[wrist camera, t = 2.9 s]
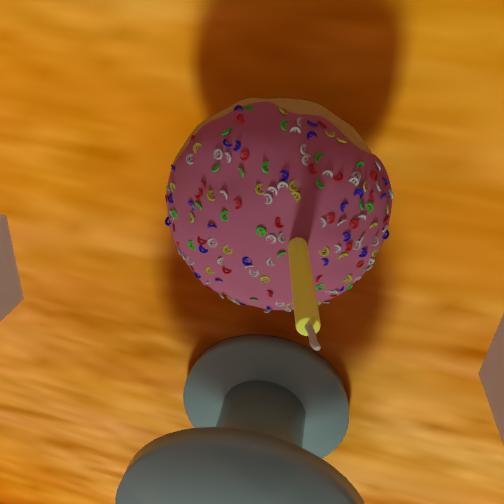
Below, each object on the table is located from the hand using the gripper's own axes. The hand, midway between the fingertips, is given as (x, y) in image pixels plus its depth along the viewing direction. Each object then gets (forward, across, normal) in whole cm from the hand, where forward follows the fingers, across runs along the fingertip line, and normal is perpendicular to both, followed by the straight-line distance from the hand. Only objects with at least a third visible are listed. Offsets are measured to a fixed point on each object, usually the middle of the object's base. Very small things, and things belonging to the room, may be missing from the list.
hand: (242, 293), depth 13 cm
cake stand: (+11, 0, +15) cm, 19 cm away
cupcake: (+11, 0, +1) cm, 11 cm away
